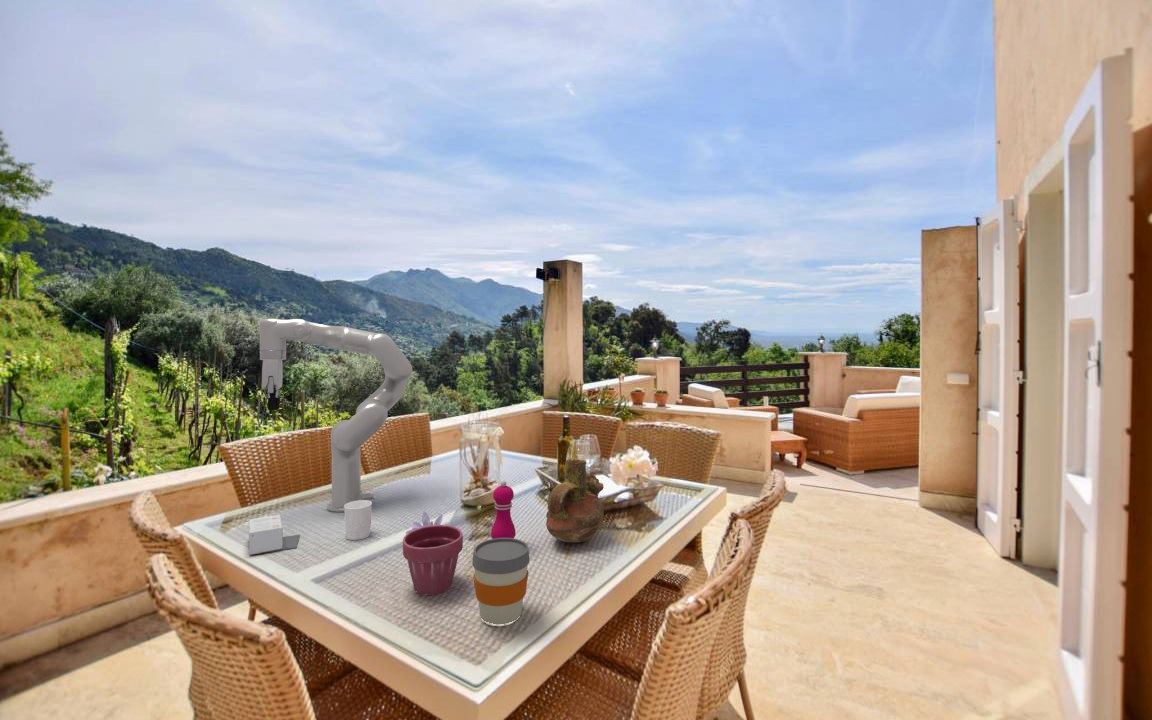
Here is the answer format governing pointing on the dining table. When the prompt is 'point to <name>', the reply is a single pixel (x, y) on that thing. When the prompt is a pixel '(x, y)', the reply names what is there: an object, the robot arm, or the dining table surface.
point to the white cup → (358, 519)
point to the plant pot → (432, 557)
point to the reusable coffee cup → (500, 578)
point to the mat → (287, 543)
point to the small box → (265, 534)
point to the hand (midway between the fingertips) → (273, 409)
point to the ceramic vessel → (575, 505)
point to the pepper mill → (503, 512)
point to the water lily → (425, 522)
